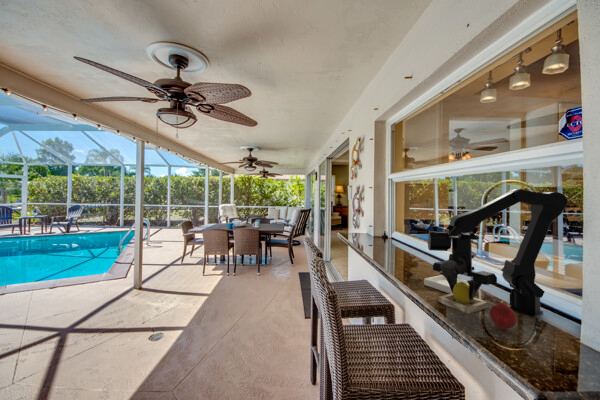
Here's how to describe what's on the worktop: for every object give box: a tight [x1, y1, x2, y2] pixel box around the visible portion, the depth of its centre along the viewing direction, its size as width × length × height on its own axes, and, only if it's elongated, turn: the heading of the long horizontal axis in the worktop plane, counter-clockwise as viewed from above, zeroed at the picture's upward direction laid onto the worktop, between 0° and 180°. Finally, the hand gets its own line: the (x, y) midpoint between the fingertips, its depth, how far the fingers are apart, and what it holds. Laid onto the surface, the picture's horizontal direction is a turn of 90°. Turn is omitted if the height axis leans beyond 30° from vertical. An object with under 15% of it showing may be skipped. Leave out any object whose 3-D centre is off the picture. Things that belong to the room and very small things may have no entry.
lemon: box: [453, 282, 471, 305], centre depth 85 cm, size 6×6×8 cm
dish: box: [423, 274, 469, 294], centre depth 102 cm, size 13×13×3 cm
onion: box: [489, 299, 517, 330], centre depth 69 cm, size 6×6×8 cm
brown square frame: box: [437, 293, 489, 315], centre depth 85 cm, size 10×10×2 cm
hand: (462, 296), depth 85 cm, fingers closed on lemon, 6 cm apart
